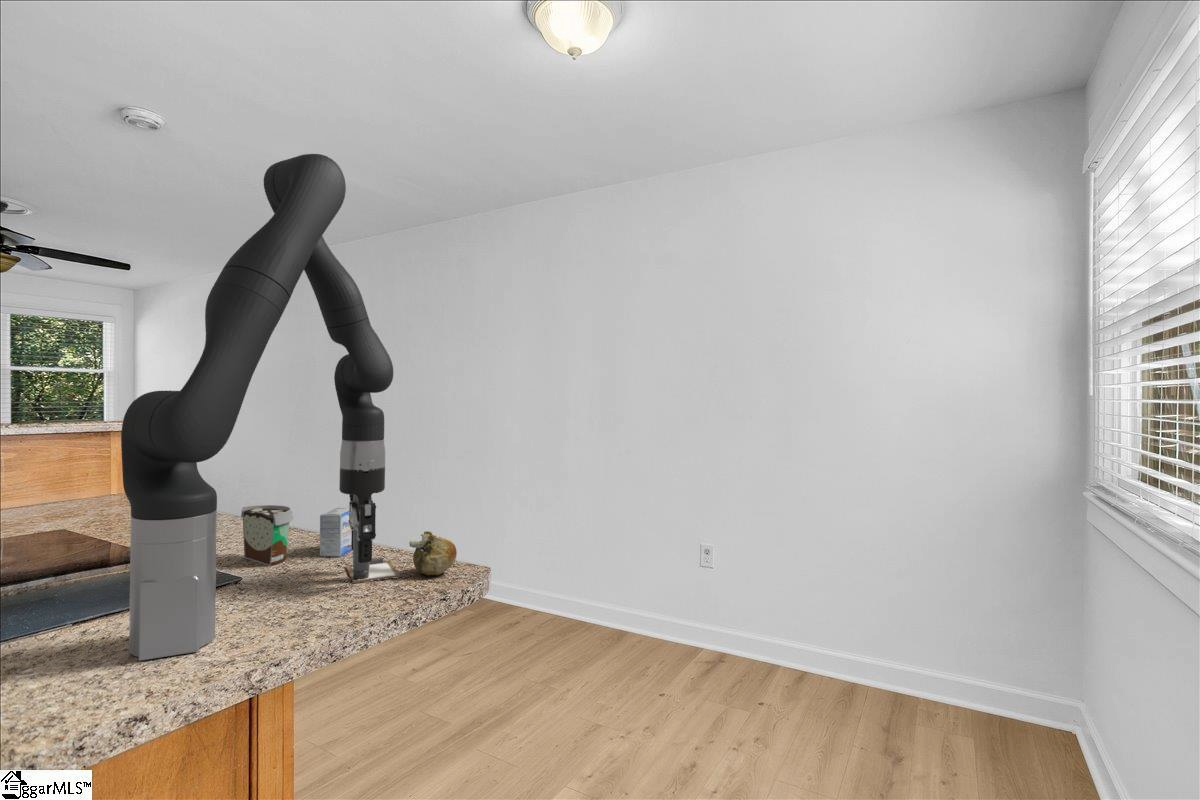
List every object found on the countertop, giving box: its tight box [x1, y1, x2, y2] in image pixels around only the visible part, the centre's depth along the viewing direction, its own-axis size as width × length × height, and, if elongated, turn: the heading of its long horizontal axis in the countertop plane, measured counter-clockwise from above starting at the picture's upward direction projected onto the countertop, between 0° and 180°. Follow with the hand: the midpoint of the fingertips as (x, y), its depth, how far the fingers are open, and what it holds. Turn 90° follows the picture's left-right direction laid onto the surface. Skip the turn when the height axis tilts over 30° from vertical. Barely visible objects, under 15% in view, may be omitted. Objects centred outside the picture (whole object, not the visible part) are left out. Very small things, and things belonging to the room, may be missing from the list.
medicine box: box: [319, 506, 353, 558], centre depth 125 cm, size 8×4×9 cm, turn 179°
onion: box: [408, 530, 457, 576], centre depth 112 cm, size 8×8×8 cm
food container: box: [240, 504, 294, 567], centre depth 119 cm, size 12×6×10 cm, turn 58°
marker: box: [352, 524, 370, 579], centre depth 107 cm, size 3×3×12 cm
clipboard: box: [345, 557, 402, 584], centre depth 112 cm, size 11×8×1 cm
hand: (361, 555), depth 107 cm, fingers open, 8 cm apart
